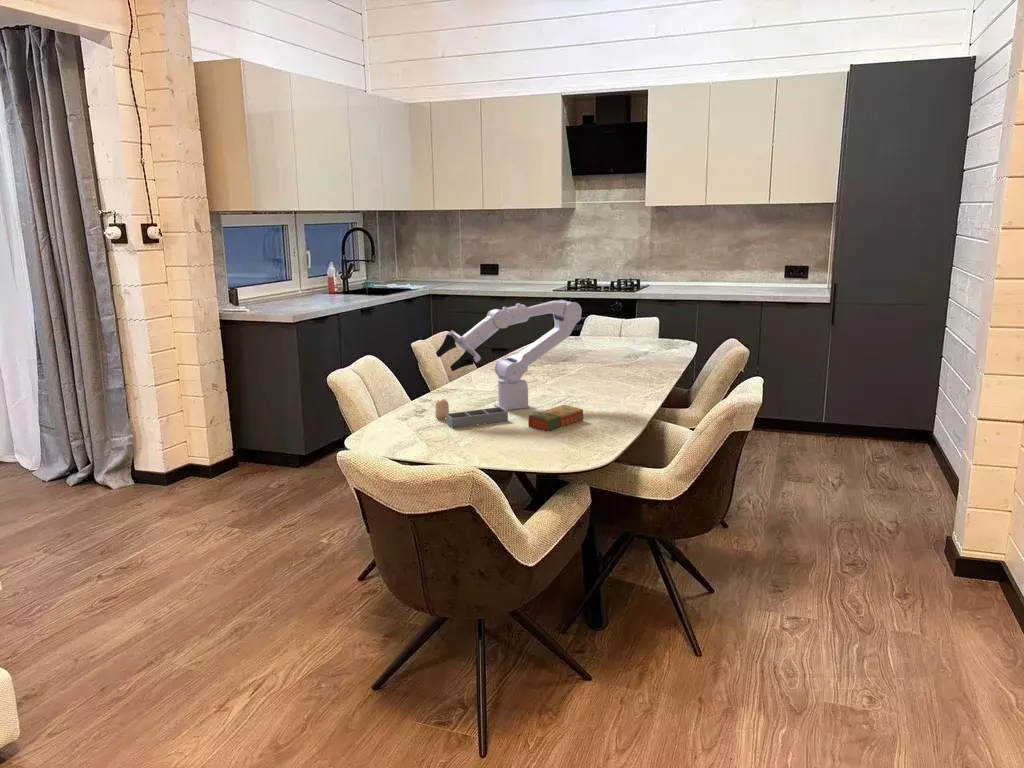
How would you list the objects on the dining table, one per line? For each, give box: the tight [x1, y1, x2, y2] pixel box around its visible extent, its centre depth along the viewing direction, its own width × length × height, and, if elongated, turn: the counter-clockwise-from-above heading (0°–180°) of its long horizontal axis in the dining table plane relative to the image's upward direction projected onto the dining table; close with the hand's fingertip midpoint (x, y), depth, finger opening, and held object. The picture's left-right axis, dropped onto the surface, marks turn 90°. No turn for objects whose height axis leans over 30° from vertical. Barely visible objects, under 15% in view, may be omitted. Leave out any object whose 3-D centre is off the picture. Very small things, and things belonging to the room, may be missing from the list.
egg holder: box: [445, 406, 509, 429], centre depth 231 cm, size 18×6×3 cm, turn 113°
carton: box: [528, 404, 584, 432], centre depth 227 cm, size 8×16×4 cm, turn 134°
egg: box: [434, 398, 450, 420], centre depth 237 cm, size 4×4×6 cm
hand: (444, 362), depth 236 cm, fingers open, 7 cm apart
